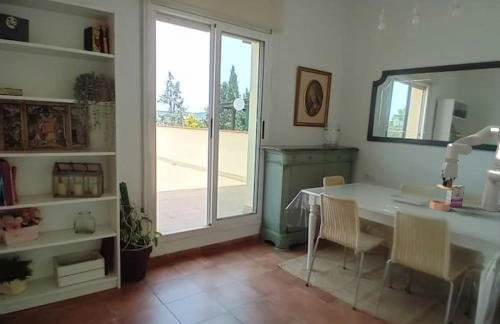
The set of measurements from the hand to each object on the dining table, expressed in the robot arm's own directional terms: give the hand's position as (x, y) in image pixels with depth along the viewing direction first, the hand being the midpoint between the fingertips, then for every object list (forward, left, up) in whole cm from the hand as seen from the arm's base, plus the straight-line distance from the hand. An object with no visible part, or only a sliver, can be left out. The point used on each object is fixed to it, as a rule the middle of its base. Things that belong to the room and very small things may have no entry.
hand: (447, 186), depth 229 cm
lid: (0, 0, -1) cm, 1 cm away
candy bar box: (-14, -10, -18) cm, 25 cm away
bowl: (+2, -2, -18) cm, 18 cm away
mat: (-9, +9, -18) cm, 22 cm away
